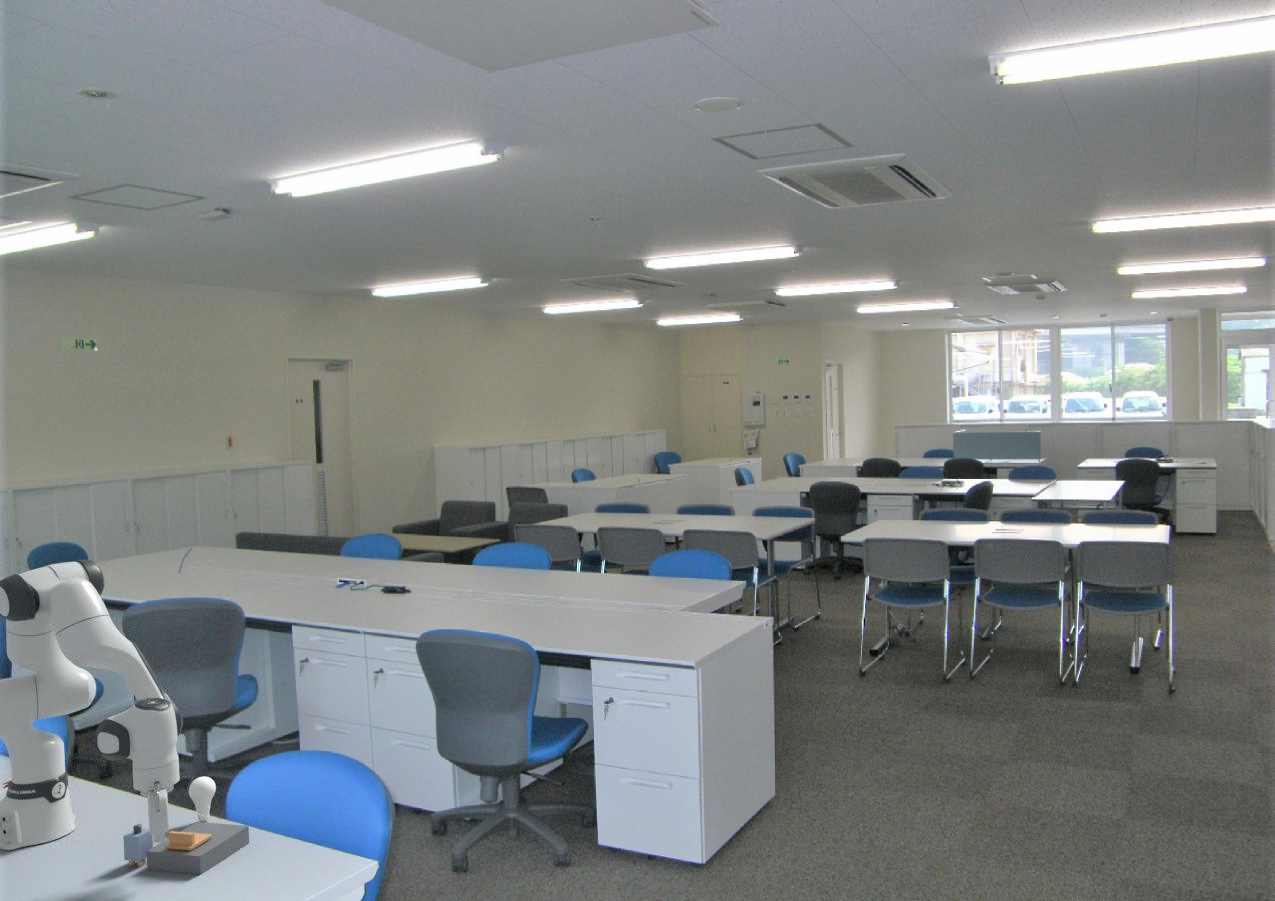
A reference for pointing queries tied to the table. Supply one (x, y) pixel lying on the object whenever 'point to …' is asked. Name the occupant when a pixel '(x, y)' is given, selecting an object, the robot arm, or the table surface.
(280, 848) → the table surface
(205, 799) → the lightbulb
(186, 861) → the socket block
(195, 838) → the panel
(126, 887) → the table surface
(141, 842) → the plug
